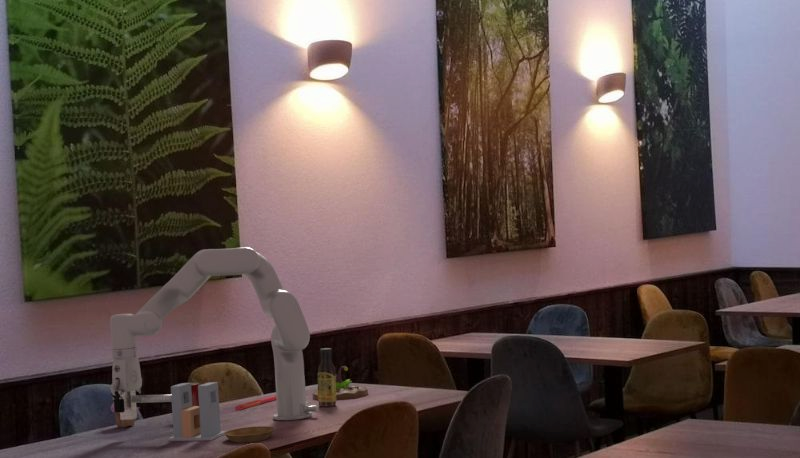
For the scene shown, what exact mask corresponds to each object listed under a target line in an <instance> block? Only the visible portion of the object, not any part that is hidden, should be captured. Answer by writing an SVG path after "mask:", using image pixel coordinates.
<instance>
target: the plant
mask: <svg viewBox="0 0 800 458" xmlns="http://www.w3.org/2000/svg"><path fill="white" fill-rule="evenodd" d="M342 369H343V370H344V371H345V372H348V370H349V368H348V367H347V366H346V365H344V366H340V367H339V369H338V374H337V373H335V376H336V401H339V400H340V401H341V400H350V399H351V400H352V399H353V400H354V399H358V398H363V397H365V396H367V395H369V391H368V390H369V389H368V388H367V387H366V386H360V385H350V384H351V383H352V381H353V380H351V379H350V378H348V379H345V380H342ZM312 400H315V401H318V389H316V390H315V391H314V393H312Z"/></svg>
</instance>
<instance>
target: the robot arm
mask: <svg viewBox="0 0 800 458" xmlns="http://www.w3.org/2000/svg"><path fill="white" fill-rule="evenodd" d="M270 262H271V261H269V259H267V258H266V257H265V256H263V255H262V254H261V253H259V252H257V250H255V249H253V248H251V247H248V246H244V247H234V248H233V247H232V248H231V247H230V248H208V249H207V248H206V249H200V250H199V251H197V252H196V253H195V254H193V256H191V258H189V260H188V261H187V262H186V263H185V264H184V265H183V266H182V267H181V268H180V270H178V271H177V273H175V275H174V276H173V277H171V278H170V280H169V281H168V282H166V283H165V284H164V285H163V286H162V287H161V288H160V289H159V290H158V291H156V293H155V294H154V295H153V296H152V297H151V298H149V300H147V302H146V303H145V304H144V305H143V306H142V307H141V308H140V309H139V310H138V311H137V312H136V314H133V313H118V314H117V313H116V314H113V315H111V317H110V319H109V323H110V325H109V326H110V329H109V330H110V340H111V341H110V343H111V359H112V368H111V369H112V371H111V373H112V374H111V376H112V377H111V379H112V381H111V382H112V383H111V384H110V386H109V390H110V392H111V397H112V400H113V403H114V411H115V413H119V412H125V407H124V399H122V398H123V395H124V392H125V391H126V392H130V391H133V390H135V392H136V395H142V387H143V378H142V372H141V371H142V370H141V366H140V361H139V357H138V346H137V336H144V337H152V336H154V335H157V334H158V333H159V332H160V331H161V330H162V327H163V322H162V321H163V320H164V319H165V318H166V317H167V315H169V314H170V313H171V312H172V311H174V310H175V309H176V308H177V307H179V306H182V305H183V304H185V303H186V302H188V301H189V300H191V298H192V297H193V296H194V295H195V294H196V293H197V292H198V291H199V290H200V289H201V287H203V285H204V284H205V283H207V281H209V279H210V278H211V277H221V276H222V277H224V276H235V275H237V276H238V275H244V276H246V278H248V280H249V281H250V283H251V284H252V287H253V289H254V291H255V293H256V297H257V298H258V301H259V304H260V306H261V309H262V312H263V314H264V315H265V316H266V317H268V318H269V319H272V320H273V321H274V324H275V325H274V326H273V328H272V330H271V335H270V341H271V348H272V353H273V362H274V364H273V365H274V378H275V379H274V381H275V394H276V395H275V396H276V397H277V400H276V410H277V411H276V412H277V413H274V414H273V415H272V419H273V420H275V421H296V420H302V419H308V418H311V417H312V416H313V415H312V414H313V412H314V413H316V412H317V413H318V411H319V407H318V406H319V405H310V402H309V401H307V394H306V380H305V379H306V378H305V362H304V354H303V350H305V349H306V348H307V346H308V345H309V342H310V340H311V339H310V338H311V334H310V329H309V326H308V323H307V320H306V319H305V316H304V314H303V311H302V310H303V309H302V308H301V306H300V303H299V302H298V300H297V298H296V296H295V295H294V294H292V292H290V291H287V290H284V287H283V286H282V283H281V280H280V279H279V277H278V274H277V271H276V270H275V268H274V266H273V265H272V263H270ZM119 393H120V394H119ZM136 407H139V408H140V407H141V408H142V403H136Z"/></svg>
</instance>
